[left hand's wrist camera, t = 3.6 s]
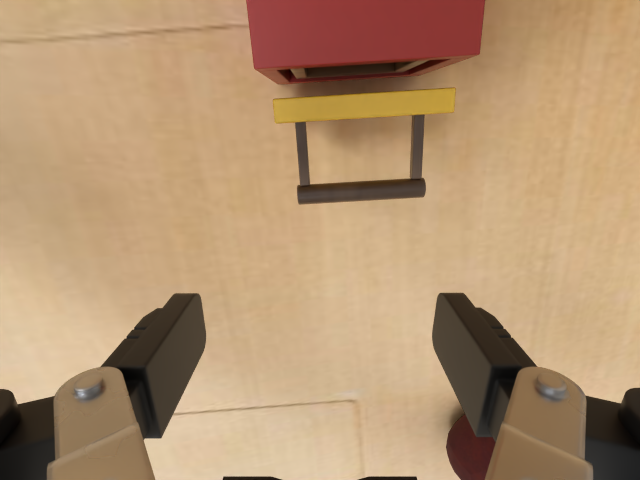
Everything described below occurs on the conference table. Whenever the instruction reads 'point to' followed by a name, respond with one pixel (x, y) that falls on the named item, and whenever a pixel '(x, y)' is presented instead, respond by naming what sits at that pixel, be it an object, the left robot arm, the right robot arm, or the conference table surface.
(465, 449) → the dark red ball
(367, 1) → the cabinet
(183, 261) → the conference table surface
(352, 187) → the drawer
